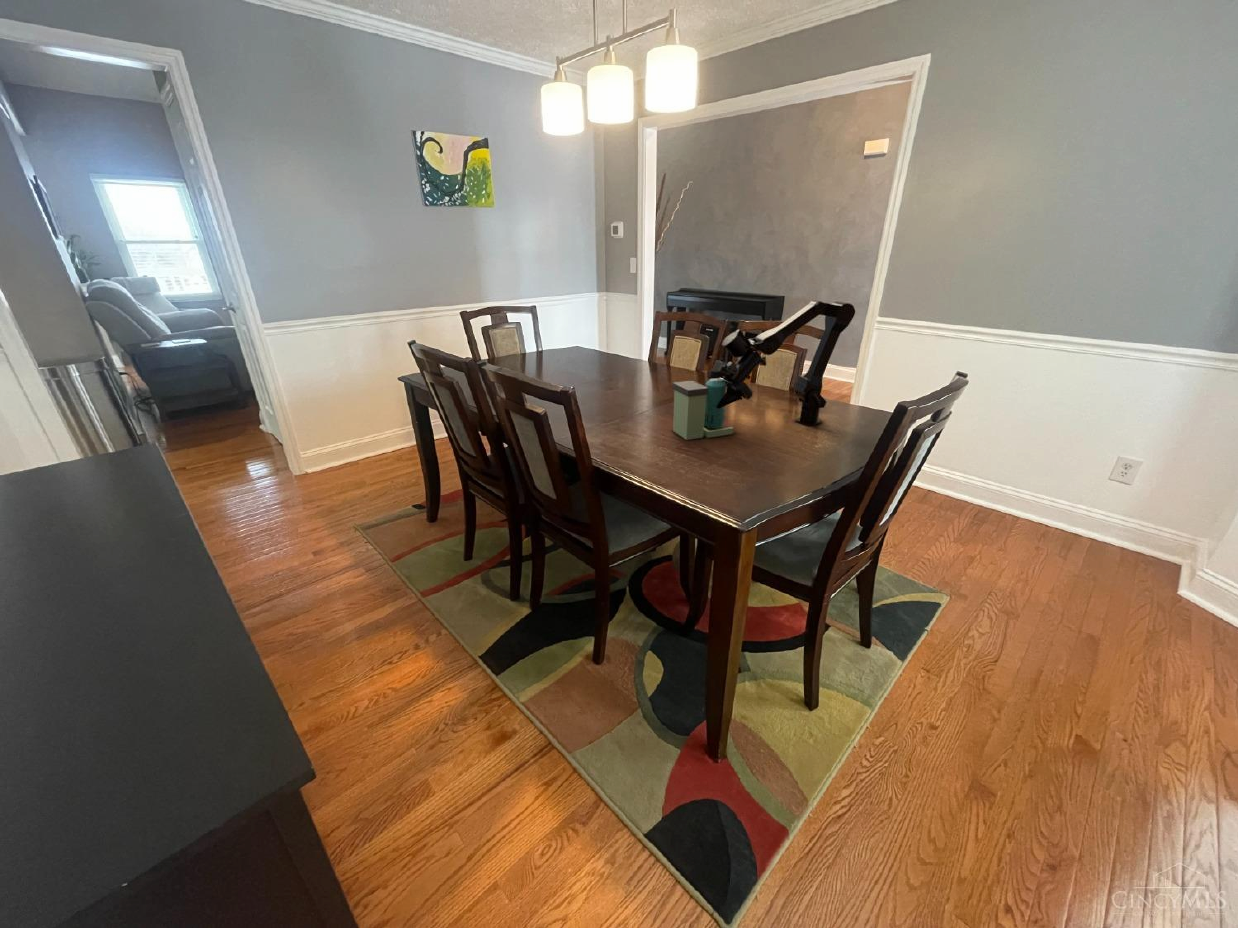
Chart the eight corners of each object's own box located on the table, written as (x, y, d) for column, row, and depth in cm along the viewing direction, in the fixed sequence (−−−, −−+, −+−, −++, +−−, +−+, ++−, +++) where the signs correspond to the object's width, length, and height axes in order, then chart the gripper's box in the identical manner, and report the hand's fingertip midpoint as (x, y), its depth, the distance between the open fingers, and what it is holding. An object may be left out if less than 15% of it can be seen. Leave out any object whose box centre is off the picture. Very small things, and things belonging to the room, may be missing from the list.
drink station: (714, 423, 166) (718, 377, 160) (733, 433, 157) (737, 384, 151) (670, 430, 161) (671, 382, 154) (686, 441, 151) (689, 390, 145)
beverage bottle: (724, 426, 163) (728, 367, 154) (722, 433, 157) (726, 372, 148) (705, 424, 164) (707, 366, 156) (702, 432, 159) (704, 371, 150)
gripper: (713, 346, 159) (682, 382, 160) (747, 356, 143) (713, 397, 144) (732, 367, 165) (702, 403, 166) (767, 379, 149) (733, 419, 150)
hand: (711, 405), depth 156 cm, fingers closed on beverage bottle, 6 cm apart
